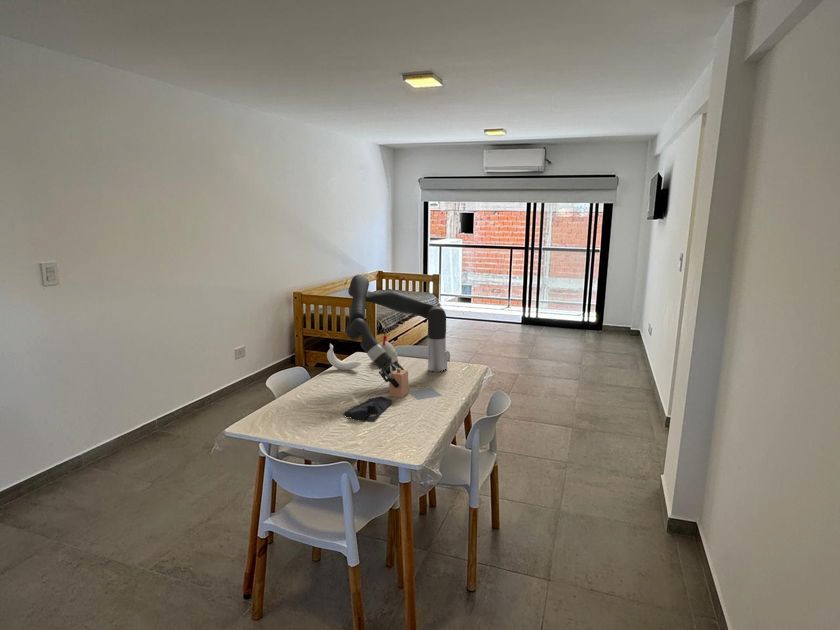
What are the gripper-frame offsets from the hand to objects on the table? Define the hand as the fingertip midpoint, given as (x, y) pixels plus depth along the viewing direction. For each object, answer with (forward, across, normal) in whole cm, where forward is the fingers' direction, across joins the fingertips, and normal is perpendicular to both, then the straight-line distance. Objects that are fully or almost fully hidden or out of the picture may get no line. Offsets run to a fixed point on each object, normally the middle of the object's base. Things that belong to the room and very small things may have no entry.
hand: (402, 384), depth 222 cm
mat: (+10, -5, +2) cm, 11 cm away
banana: (-28, -21, -36) cm, 50 cm away
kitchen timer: (-19, -42, -27) cm, 53 cm away
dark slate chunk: (+1, +21, -7) cm, 22 cm away
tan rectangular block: (+3, 0, -5) cm, 6 cm away
